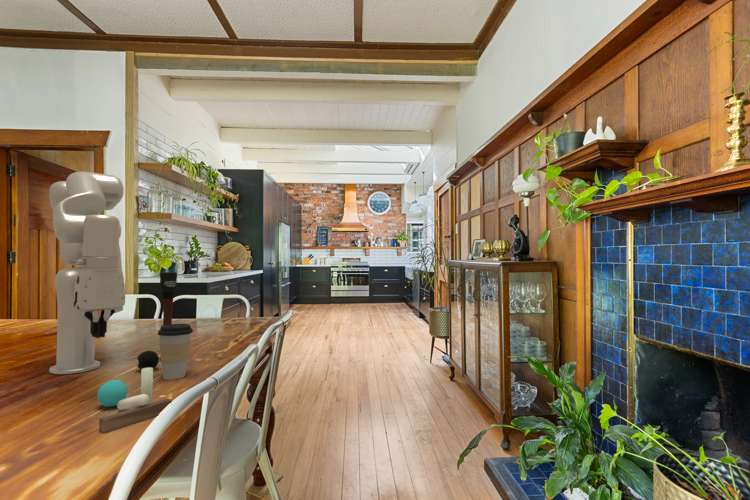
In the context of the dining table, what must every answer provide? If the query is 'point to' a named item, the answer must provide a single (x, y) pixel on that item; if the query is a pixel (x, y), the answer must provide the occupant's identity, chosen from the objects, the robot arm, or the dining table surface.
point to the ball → (112, 393)
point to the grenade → (168, 294)
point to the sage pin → (147, 382)
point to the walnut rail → (132, 415)
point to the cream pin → (133, 402)
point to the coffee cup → (174, 349)
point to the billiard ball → (147, 360)
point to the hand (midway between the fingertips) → (98, 336)
